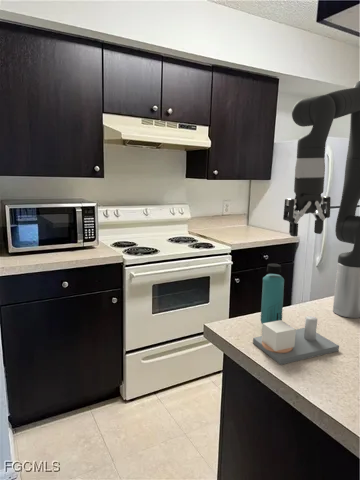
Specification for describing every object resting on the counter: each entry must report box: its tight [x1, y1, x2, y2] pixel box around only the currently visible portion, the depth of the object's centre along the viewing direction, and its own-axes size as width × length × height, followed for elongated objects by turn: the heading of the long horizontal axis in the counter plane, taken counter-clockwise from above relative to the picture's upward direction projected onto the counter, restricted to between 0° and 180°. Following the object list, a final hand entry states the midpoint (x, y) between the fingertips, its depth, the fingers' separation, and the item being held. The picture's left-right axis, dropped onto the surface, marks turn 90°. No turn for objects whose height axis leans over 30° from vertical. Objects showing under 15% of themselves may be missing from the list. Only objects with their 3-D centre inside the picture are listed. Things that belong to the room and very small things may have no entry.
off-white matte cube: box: [261, 319, 296, 351], centre depth 90 cm, size 6×6×5 cm
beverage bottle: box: [260, 263, 285, 325], centre depth 103 cm, size 6×7×20 cm
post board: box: [252, 315, 340, 365], centre depth 93 cm, size 19×12×8 cm, turn 112°
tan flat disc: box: [262, 341, 293, 353], centre depth 91 cm, size 8×8×1 cm
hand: (305, 234), depth 96 cm, fingers open, 8 cm apart
